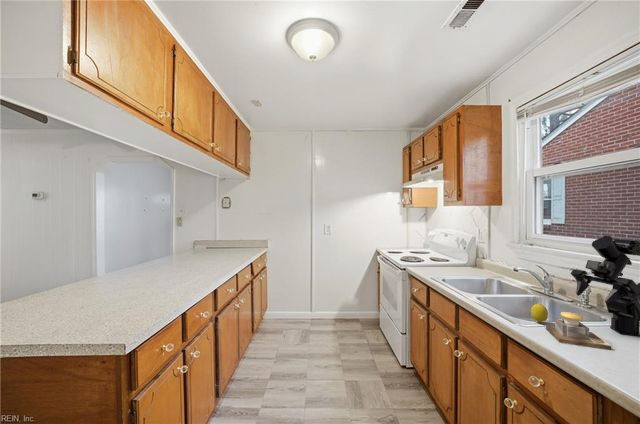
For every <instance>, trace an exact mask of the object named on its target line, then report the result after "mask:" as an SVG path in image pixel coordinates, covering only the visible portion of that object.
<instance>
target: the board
mask: <svg viewBox="0 0 640 424" xmlns="http://www.w3.org/2000/svg"><path fill="white" fill-rule="evenodd" d="M554 320H555V321H554V323H555V326H549V325H548V326H547V325H546V326H545V330H546V331H547V332H548V333H549V334H550V335H551V336H552V337H553V338H554V339H555V340H556V341H557V342H558V343H562V344H567V343H568V344H569V345H575V346H582V347H589V348H594V349H595V348H596V349H602V350H608V351H609V350H610V351H611V350H612V345H611V344H609V343H608V342H607V341H605V340H604V339H602V338H601V337H599V336H598V335H596V334H595V333H594V332H593V331H590V328H589V327H587V326H586V325H585V324H583V323H582V322H581V321H579V327H578V326H571V325H566V324H564V319H563V318H555V319H554Z"/></svg>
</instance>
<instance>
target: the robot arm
mask: <svg viewBox="0 0 640 424" xmlns="http://www.w3.org/2000/svg"><path fill="white" fill-rule="evenodd" d="M591 247H592V248H593V249H594V250H595V251H596V252H597V253H598V255H600V257H601V258H603V259H604V260H603V261H597V260H590V259H587V261H586V264H585V267H584V268H585V269H587V270H590V273H591V274H589V273H588V272H587V271H586V270H583V269H578V268H574V269H572V270H571V272H570V275H571V276H572V277H573V278H574V279H575V280H576V293H575V294H576V295H577V296H580V295H582V294H583V293H584V292H585V291H586V290H587V289H588V288H589V287H590V285H589V284H592V282H596V283H600V284H603V285H604V284H605V285H610V286H612V289H611V290H610V291H609V293H608V294H607V296H606V298H605V300H604V303H605V306H606V309H607V313H608V314H612V317H611V318H610V321H611V322H610V326H609V328H610V329H611V330H612V331H615V332H616V333H618V334H619V335H626V336H636V337H640V282H638V283H636V282H635V281H634V280H633V279H632V278H627V277H626V278H625V277H623V276H624V274H623V270H624V269H625V268H626V267H627V265H628V266H632V265H633V263H632V261H631V258H630V257H629V256H638V257H640V241H639V240H637V239H626V238H625V239H623V238H614V239H613V237H612V236H610V235H603V236H602V237H599V238H597V239H595V240H593V241H592V242H591ZM592 274H593V275H592Z"/></svg>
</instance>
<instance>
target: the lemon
mask: <svg viewBox="0 0 640 424" xmlns="http://www.w3.org/2000/svg"><path fill="white" fill-rule="evenodd" d="M530 315H531V317H532V318H533V319H534V320H535V321H537V323H538V324H539V323H540V324H541V323H542V322H546V321H547V319H548V317H549V312H548V308H547V306H545V305H544V304H542V303H541V302H539V303H535V304H534V305H532V306H531V309H530Z"/></svg>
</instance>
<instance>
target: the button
mask: <svg viewBox="0 0 640 424" xmlns="http://www.w3.org/2000/svg"><path fill="white" fill-rule="evenodd" d="M560 316H561V317H562V318H564V324H566V325H571V326H578V327H579V322H581V321H583V320H584V316H583V315H581V314H579V313H574V312H569V311H561V312H560Z"/></svg>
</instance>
